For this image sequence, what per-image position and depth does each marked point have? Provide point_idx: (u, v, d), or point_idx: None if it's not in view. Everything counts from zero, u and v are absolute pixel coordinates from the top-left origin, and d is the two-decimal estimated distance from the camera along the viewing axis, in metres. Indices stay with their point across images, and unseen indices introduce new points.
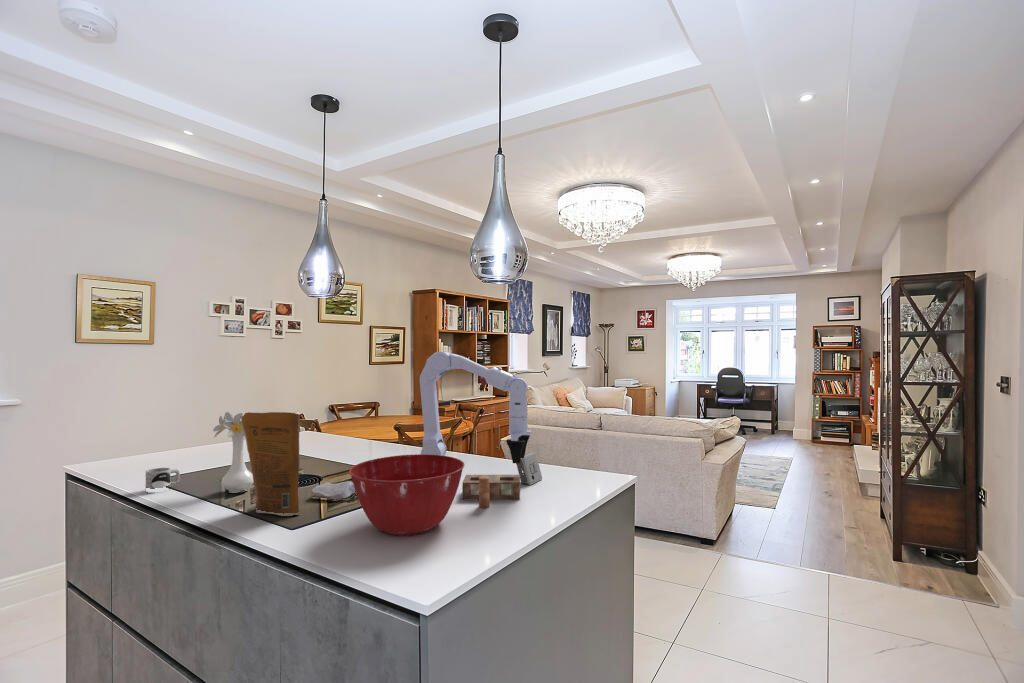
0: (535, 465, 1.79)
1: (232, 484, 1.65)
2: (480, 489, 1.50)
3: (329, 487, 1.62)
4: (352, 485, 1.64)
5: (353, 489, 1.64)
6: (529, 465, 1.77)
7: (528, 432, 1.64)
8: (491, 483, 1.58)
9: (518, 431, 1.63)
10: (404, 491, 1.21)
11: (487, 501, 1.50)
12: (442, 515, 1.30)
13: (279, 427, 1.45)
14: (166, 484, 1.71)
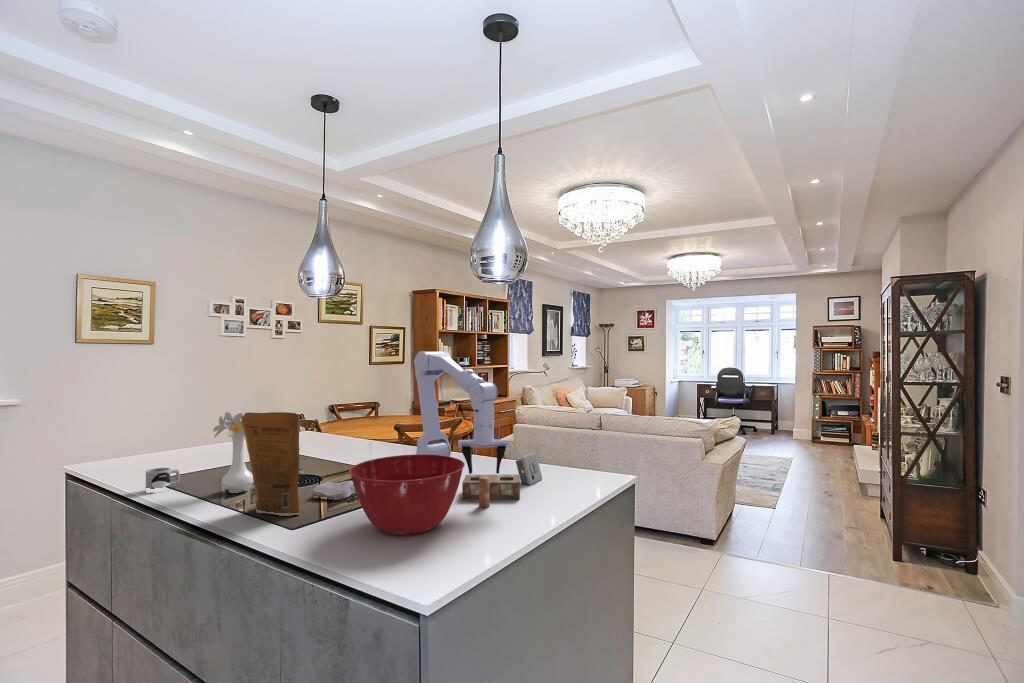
0: (535, 465, 1.79)
1: (232, 484, 1.65)
2: (480, 489, 1.50)
3: (330, 486, 1.62)
4: (353, 484, 1.64)
5: (354, 488, 1.65)
6: (529, 465, 1.77)
7: None
8: (491, 483, 1.58)
9: (473, 440, 1.51)
10: (404, 491, 1.21)
11: (487, 501, 1.50)
12: (442, 515, 1.30)
13: (279, 427, 1.45)
14: (166, 484, 1.71)
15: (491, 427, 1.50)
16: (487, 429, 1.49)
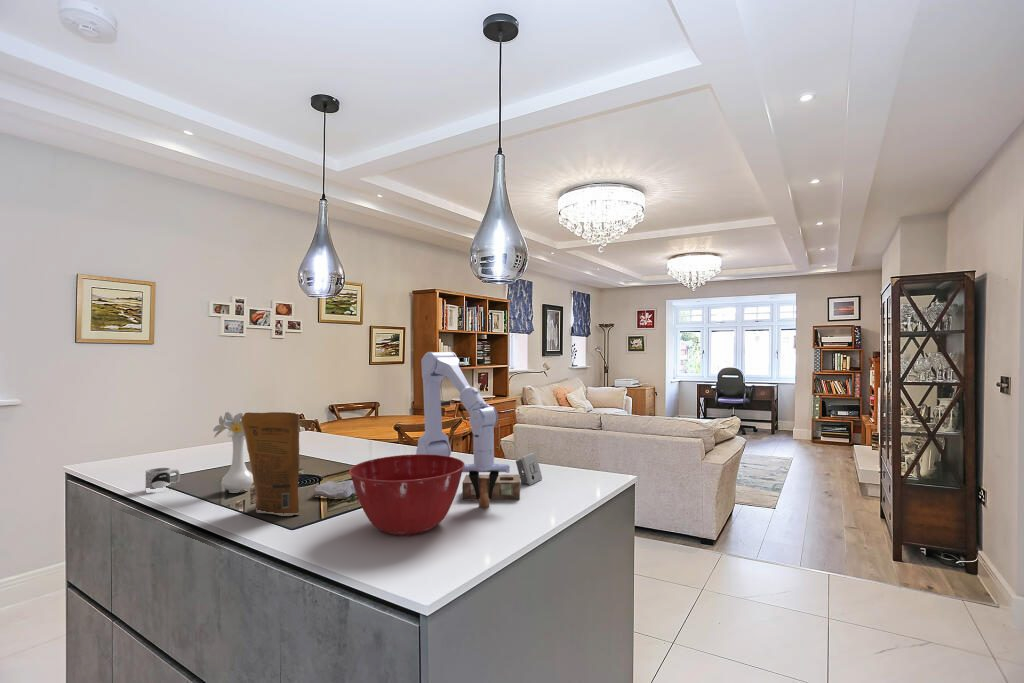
0: (535, 465, 1.79)
1: (232, 484, 1.65)
2: (480, 489, 1.50)
3: (331, 486, 1.63)
4: None
5: None
6: (529, 465, 1.77)
7: None
8: None
9: (473, 464, 1.51)
10: (404, 491, 1.21)
11: (487, 501, 1.50)
12: (442, 515, 1.30)
13: (279, 427, 1.45)
14: (166, 484, 1.71)
15: (491, 452, 1.49)
16: (487, 454, 1.48)
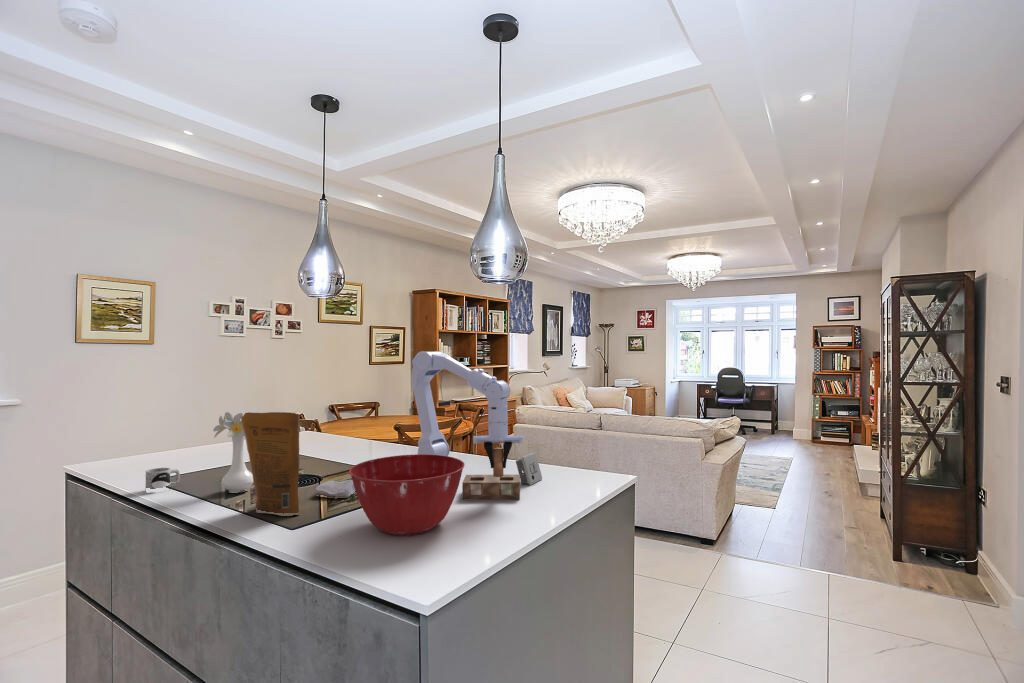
0: (535, 465, 1.79)
1: (232, 484, 1.65)
2: (494, 459, 1.57)
3: (333, 485, 1.64)
4: None
5: None
6: (529, 465, 1.77)
7: (494, 439, 1.55)
8: (491, 483, 1.58)
9: (488, 435, 1.58)
10: (404, 491, 1.21)
11: (501, 470, 1.57)
12: (442, 515, 1.30)
13: (279, 427, 1.45)
14: (166, 484, 1.71)
15: (505, 424, 1.56)
16: (501, 425, 1.56)
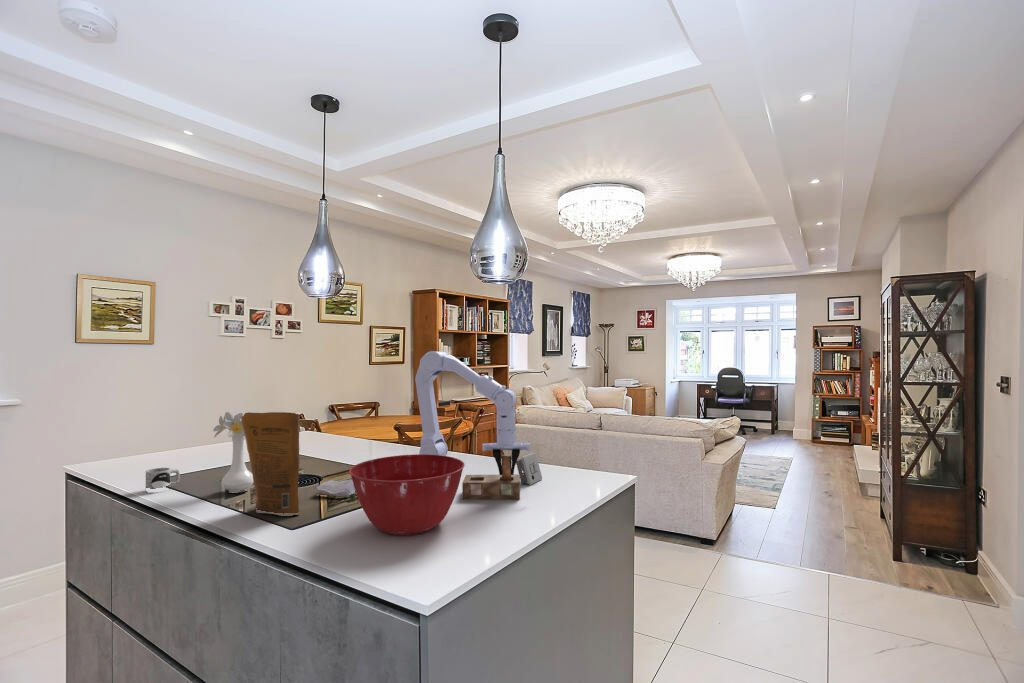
0: (535, 465, 1.79)
1: (232, 484, 1.65)
2: (503, 466, 1.61)
3: (333, 485, 1.65)
4: None
5: None
6: (529, 465, 1.77)
7: None
8: (491, 483, 1.58)
9: (496, 443, 1.62)
10: (404, 491, 1.21)
11: (509, 477, 1.61)
12: (442, 515, 1.30)
13: (279, 427, 1.45)
14: (166, 484, 1.71)
15: (513, 431, 1.61)
16: (509, 433, 1.60)
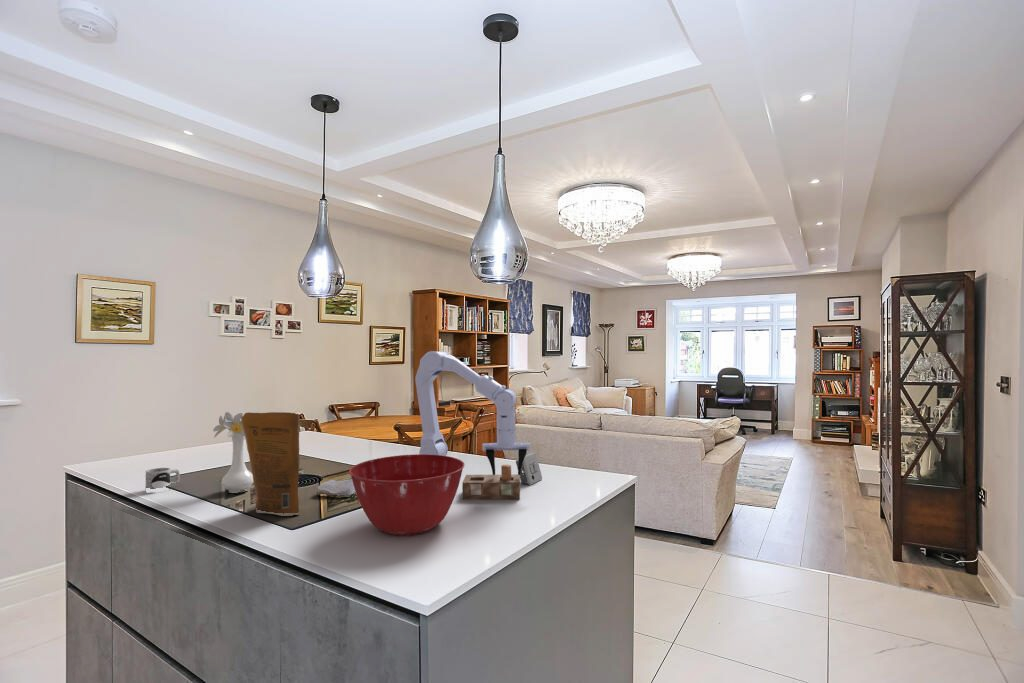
0: (535, 465, 1.79)
1: (232, 484, 1.65)
2: (503, 476, 1.61)
3: (334, 484, 1.65)
4: None
5: None
6: (529, 465, 1.77)
7: None
8: (491, 483, 1.58)
9: (496, 443, 1.62)
10: (404, 491, 1.21)
11: None
12: (442, 515, 1.30)
13: (279, 427, 1.45)
14: (166, 484, 1.71)
15: (513, 431, 1.61)
16: (509, 433, 1.60)
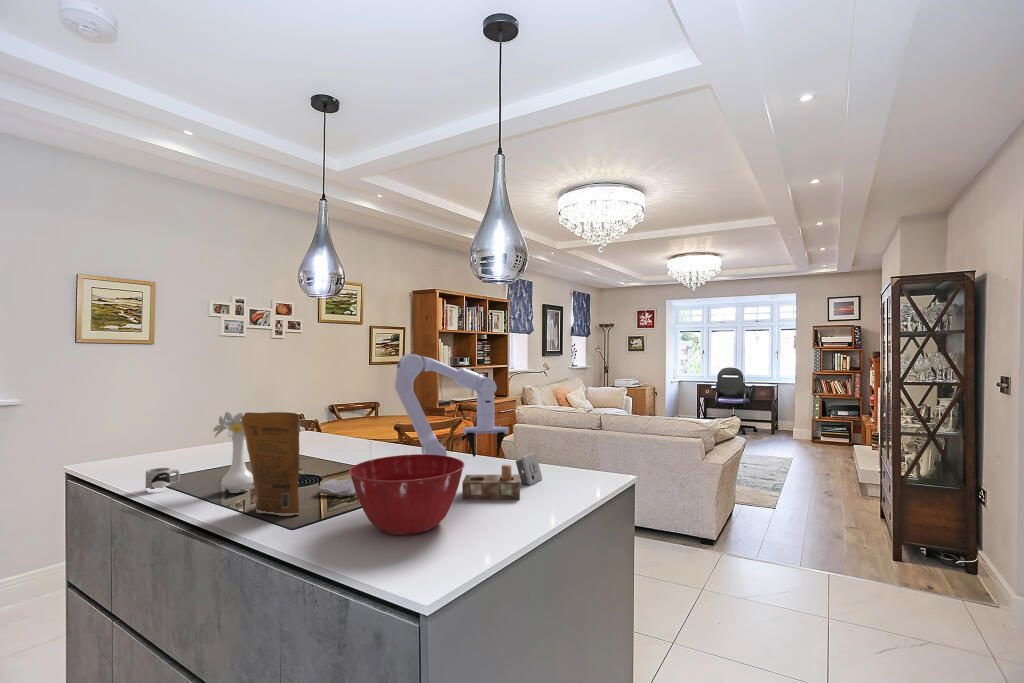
0: (535, 465, 1.79)
1: (232, 484, 1.65)
2: (503, 476, 1.61)
3: (335, 484, 1.66)
4: None
5: None
6: (529, 465, 1.77)
7: (482, 430, 1.70)
8: (491, 483, 1.58)
9: (476, 427, 1.73)
10: (404, 491, 1.21)
11: None
12: (442, 515, 1.30)
13: (279, 427, 1.45)
14: (166, 484, 1.71)
15: (492, 416, 1.71)
16: (488, 417, 1.71)
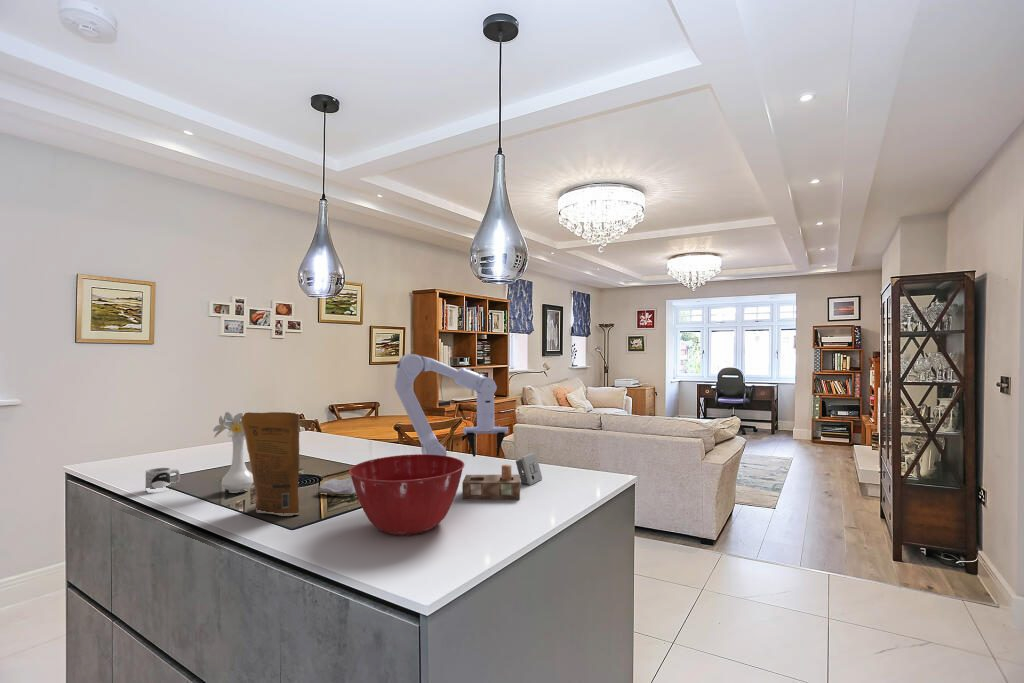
0: (535, 465, 1.79)
1: (232, 484, 1.65)
2: (503, 476, 1.61)
3: (336, 483, 1.66)
4: None
5: None
6: (529, 465, 1.77)
7: (482, 430, 1.70)
8: (491, 483, 1.58)
9: (476, 427, 1.73)
10: (404, 491, 1.21)
11: None
12: (442, 515, 1.30)
13: (279, 427, 1.45)
14: (166, 484, 1.71)
15: (492, 416, 1.71)
16: (488, 417, 1.71)
